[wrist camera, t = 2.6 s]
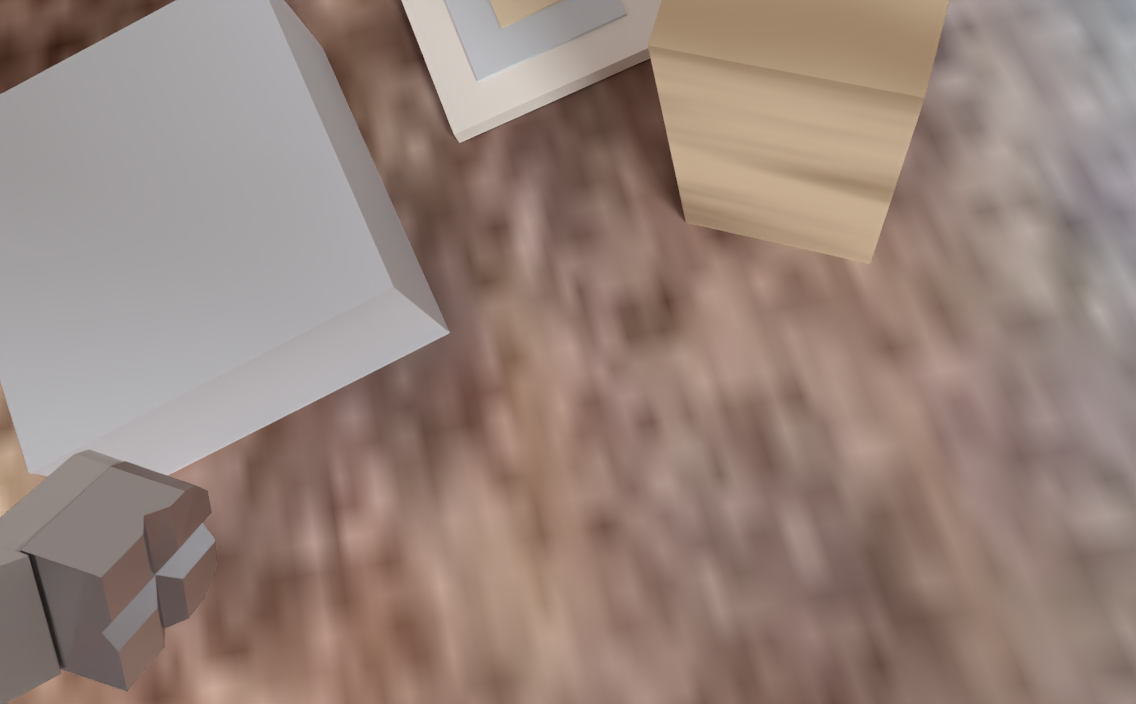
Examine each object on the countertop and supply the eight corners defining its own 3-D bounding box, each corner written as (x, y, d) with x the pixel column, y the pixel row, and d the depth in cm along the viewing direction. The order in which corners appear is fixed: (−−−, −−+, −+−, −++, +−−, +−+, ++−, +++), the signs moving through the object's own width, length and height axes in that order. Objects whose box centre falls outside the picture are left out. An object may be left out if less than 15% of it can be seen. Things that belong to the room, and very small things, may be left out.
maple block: (733, 56, 30) (718, -191, 21) (914, 91, 29) (989, -155, 19) (685, 222, 29) (647, 45, 20) (869, 264, 28) (924, 98, 19)
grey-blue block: (326, 51, 33) (251, -41, 28) (452, 335, 30) (394, 287, 25) (44, 200, 34) (-77, 135, 29) (143, 491, 31) (29, 473, 26)
